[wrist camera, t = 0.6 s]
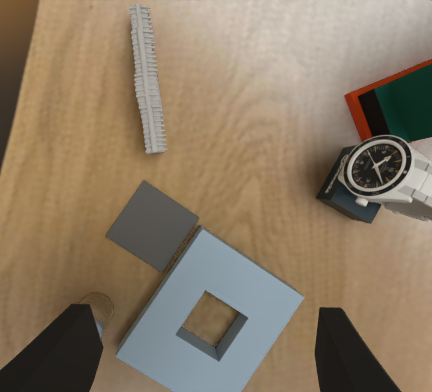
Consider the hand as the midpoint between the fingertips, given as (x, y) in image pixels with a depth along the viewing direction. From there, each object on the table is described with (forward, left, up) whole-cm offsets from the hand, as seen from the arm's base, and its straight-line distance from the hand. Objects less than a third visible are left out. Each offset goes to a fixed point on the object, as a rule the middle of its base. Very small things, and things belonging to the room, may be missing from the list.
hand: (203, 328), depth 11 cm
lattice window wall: (+9, +10, -21) cm, 25 cm away
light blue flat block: (-5, -6, -21) cm, 23 cm away
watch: (+12, -10, -21) cm, 27 cm away
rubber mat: (-1, +3, -21) cm, 21 cm away
